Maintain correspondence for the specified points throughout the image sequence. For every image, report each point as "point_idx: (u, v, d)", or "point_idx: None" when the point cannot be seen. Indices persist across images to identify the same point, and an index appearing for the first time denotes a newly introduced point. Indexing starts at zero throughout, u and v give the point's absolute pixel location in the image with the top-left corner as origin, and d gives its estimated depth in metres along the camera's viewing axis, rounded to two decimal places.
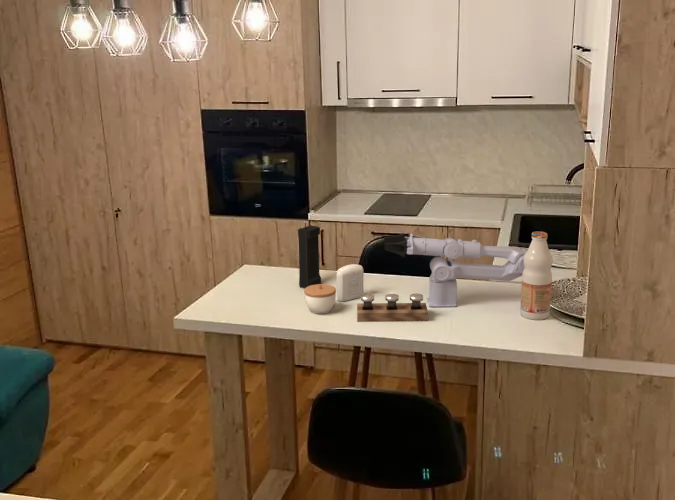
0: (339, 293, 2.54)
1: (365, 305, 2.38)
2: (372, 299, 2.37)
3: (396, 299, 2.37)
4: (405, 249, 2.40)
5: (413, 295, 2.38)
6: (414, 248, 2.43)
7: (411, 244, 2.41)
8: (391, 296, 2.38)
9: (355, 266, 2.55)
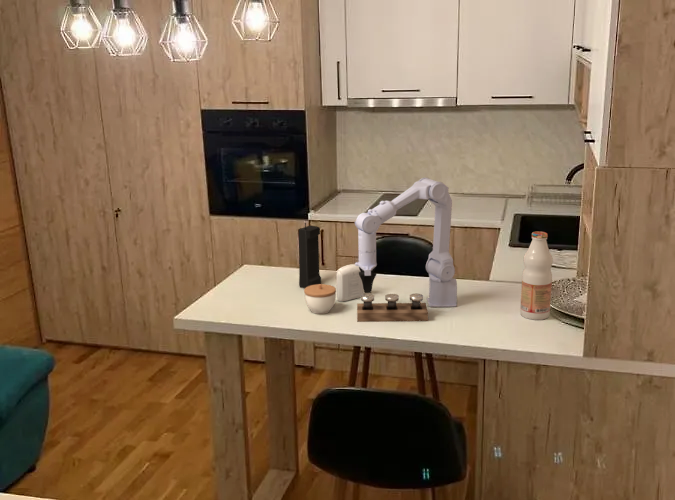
0: (339, 293, 2.54)
1: (365, 305, 2.38)
2: (372, 299, 2.37)
3: (396, 299, 2.37)
4: None
5: (413, 295, 2.38)
6: (367, 263, 2.32)
7: (362, 268, 2.31)
8: (391, 296, 2.38)
9: (355, 266, 2.55)
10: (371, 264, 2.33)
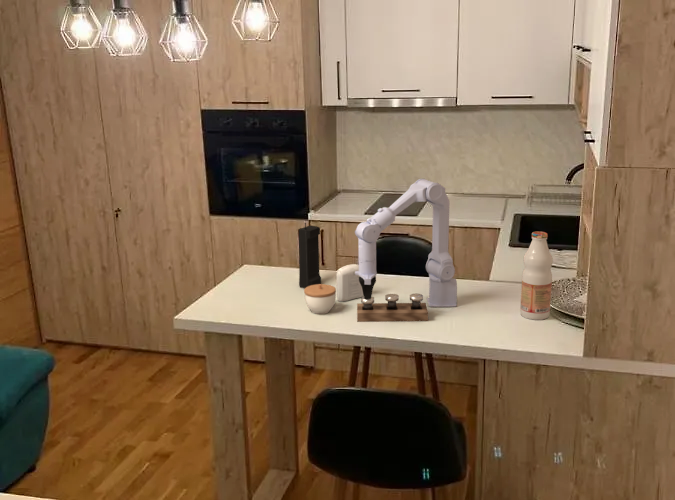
0: (339, 293, 2.54)
1: (365, 307, 2.39)
2: (372, 301, 2.37)
3: (396, 299, 2.37)
4: None
5: (413, 295, 2.38)
6: (367, 272, 2.33)
7: (362, 277, 2.32)
8: (391, 296, 2.38)
9: (355, 266, 2.55)
10: (371, 273, 2.34)
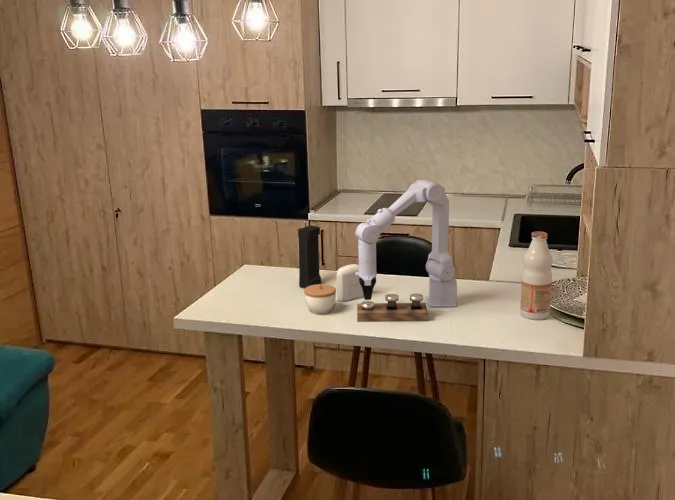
0: (339, 293, 2.54)
1: None
2: (372, 306, 2.38)
3: (396, 299, 2.37)
4: None
5: (413, 295, 2.38)
6: (368, 273, 2.33)
7: (362, 278, 2.32)
8: (391, 296, 2.38)
9: (355, 266, 2.55)
10: (371, 274, 2.34)
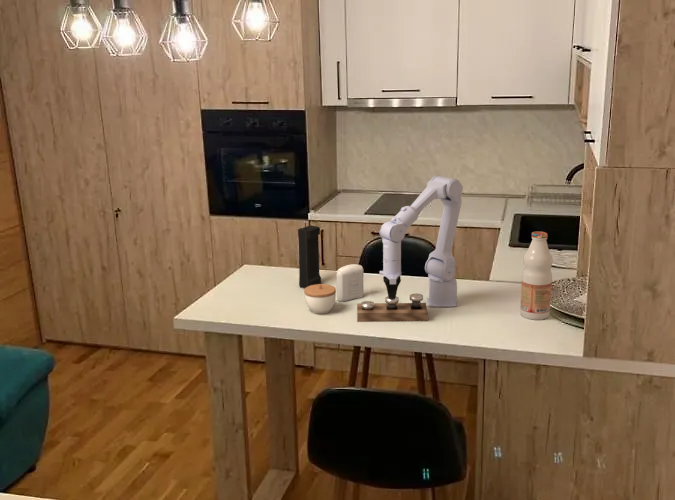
0: (339, 293, 2.54)
1: None
2: (372, 306, 2.38)
3: (396, 301, 2.37)
4: None
5: (413, 295, 2.38)
6: (392, 271, 2.33)
7: (387, 277, 2.32)
8: None
9: (355, 266, 2.55)
10: (396, 273, 2.33)
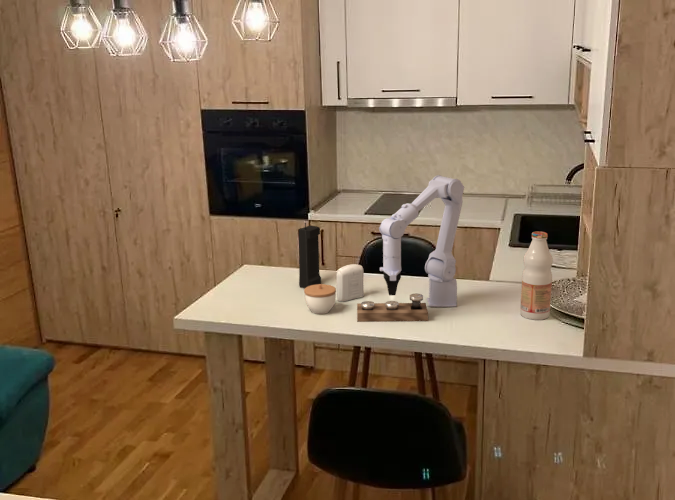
0: (339, 293, 2.54)
1: None
2: (372, 306, 2.38)
3: (396, 306, 2.38)
4: None
5: (413, 295, 2.38)
6: (392, 268, 2.33)
7: (387, 273, 2.32)
8: (391, 303, 2.39)
9: (355, 266, 2.55)
10: (396, 269, 2.33)
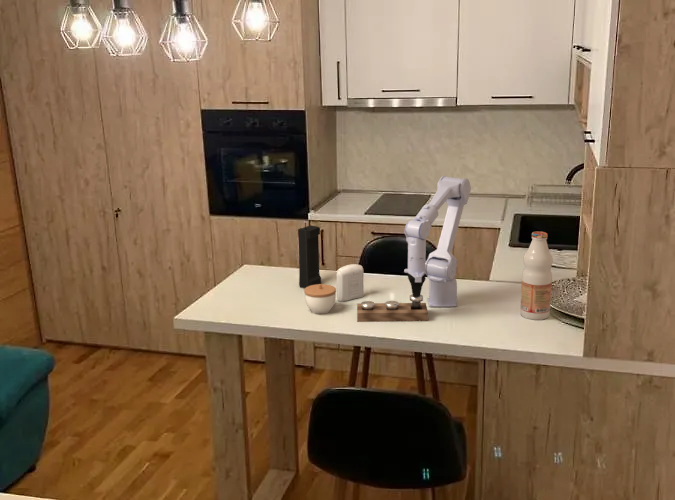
0: (339, 293, 2.54)
1: None
2: (372, 306, 2.38)
3: (396, 306, 2.38)
4: None
5: None
6: (417, 269, 2.33)
7: (412, 275, 2.32)
8: (391, 303, 2.39)
9: (355, 266, 2.55)
10: (421, 271, 2.33)
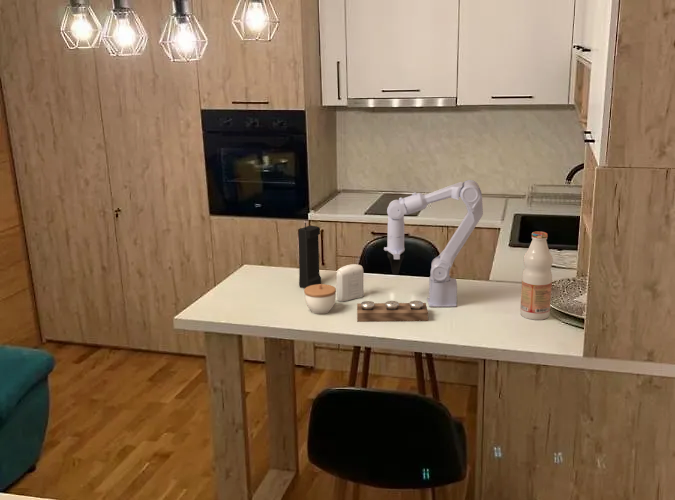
0: (339, 293, 2.54)
1: None
2: (372, 306, 2.38)
3: (396, 306, 2.38)
4: None
5: (413, 302, 2.39)
6: (396, 247, 2.45)
7: (391, 252, 2.44)
8: (391, 303, 2.39)
9: (355, 266, 2.55)
10: (399, 249, 2.46)
